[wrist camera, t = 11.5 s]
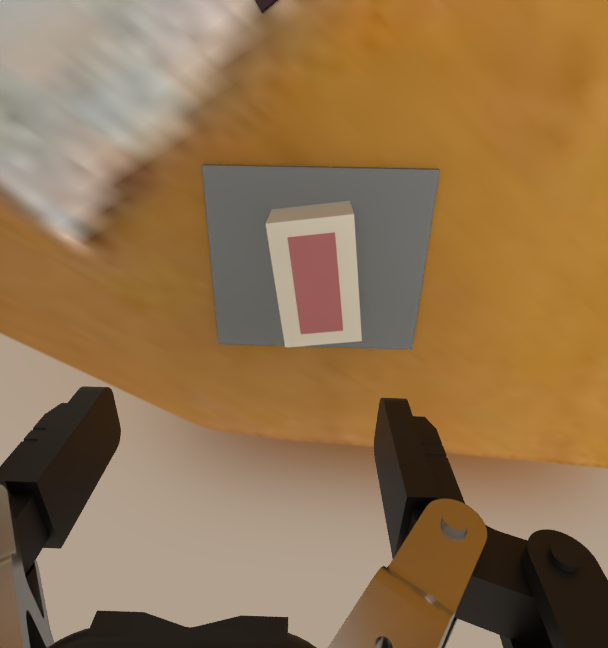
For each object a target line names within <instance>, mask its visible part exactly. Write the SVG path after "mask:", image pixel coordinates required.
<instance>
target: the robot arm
mask: <svg viewBox="0 0 608 648" xmlns="http://www.w3.org/2000/svg"><path fill="white" fill-rule="evenodd" d="M120 435H121V428H120V423H119V419H118V414H117V409H116V405H115V400H114V396H113V392H112V390H111V389H110V388H109V387H81V388H80V389H79V390H78V391H77V392H76V393H75V395H74V396H73V397H72V398H71V400H70V401H69V402H68V403H61V404H60V405H58V406H57V407H55V408H54V409H52V410H51V411H49V412H48V413H46V414H45V415H44V416H43V417H42V418H41V419H40V420H39V422H38V423H37V424H36V425H35V426H34V428H33V430H32V431H30V432H29V433H28V435H27V436H26V437H25V438H24V441H23V442H21V443H20V444H19V445H18V446H17V448H16V449H15V450H14V451H13V452H12V453H11V454H10V456H9V457H8V458H7V459H6V460H5V462H4V463H3V464H2V465H1V467H0V648H316V647H315V646H313V645H312V644H310V643H309V642H307V641H305V640H303V639H301V638H300V637H298V636H295V635H292V634H290V633H288V617H264V616H238V617H234V618H230V619H226V620H222V621H217V622H213V623H209V624H206V625H201V626H197V627H192V628H189V627H184V626H181V625H178V624H176V623H173V622H170V621H167V620H164V619H162V618H159V617H156V616H153V615H150V614H147V613H144V612H119V611H97V612H96V615H95V617H94V619H93V622H92V624H91V627H90V628H88V629H84V630H82V631H79V632H76V633H74V634H71V635H69V636H67V637H65V638H63V639H61V640H59V641H57V642H55V643H54V641H53V637H52V634H51V630H50V626H49V621H48V615H47V610H46V605H45V599H44V595H43V589H42V584H41V578H40V573H39V568H38V564H37V561H36V558H37V556H38V555H39V553H40V551H41V550H42V548H61V547H62V545H63V544H64V542H65V540H66V538H67V537H68V535H69V533H70V531H71V530H72V528H73V526H74V524H75V522H76V521H77V519H78V517H79V515H80V514H81V512H82V510H83V508H84V506H85V505H86V503H87V501H88V499H89V497H90V496H91V494H92V492H93V490H94V489H95V487H96V485H97V483H98V481H99V479H100V478H101V476H102V474H103V473H104V471H105V469H106V467H107V465H108V464H109V461H110V460H111V458H112V456H113V455H114V453H115V451H116V449H117V447H118V444H119V441H120ZM374 455H375V462H376V467H377V473H378V479H379V484H380V490H381V495H382V501H383V507H384V512H385V518H386V523H387V529H388V535H389V540H390V545H391V551H392V557H393V560H392V562H391V564H390V565H389V566H388V567H387V568H386V567H384V566H383V567H381V568H380V569H379V570H378V572H377V573H376V575H375V576H374V577H373V579H372V580H371V582H370V584H369V585H368V587H367V588H366V590H365V591H364V593H363V594H362V596H361V597H360V599H359V601H358V602H357V604H356V605H355V607H354V608H353V610H352V611H351V613H350V615H349V616H348V617H347V619H346V620H345V622H344V624H343V625H342V627H341V628H340V630H339V631H338V633H337V634H336V636H335V637H334V639H333V641H332V642H331V644H330V645H329V647H328V648H445V647H446V645H447V643H448V640H449V638H450V636H451V633H452V631H453V629H454V626H455V624H456V622H457V619H460V620H463V621H466V622H468V623H471V624H473V625H476V626H478V627H481V628H484V629H486V630H489V631H492V632H494V633H497V634H499V635H500V638H501V641H502V645H503V648H608V580H607V578H606V576H605V575H604V573H603V571H602V569H601V567H600V566H599V564H598V562H597V561H596V559H595V557H594V556H593V555H592V554H591V553H590V551H589V550H588V549H587V548H586V547H585V546H583V545H582V544H581V543H580V542H578V541H577V540H575V539H574V538H572V537H570V536H568V535H566V534H563V533H561V532H558V531H555V530H539V531H536V532H534V533H533V534H532V535H531V536H530V538H529V540H528V541H527V540H524V539H521V538H518V537H515V536H511V535H508V534H505V533H502V532H499V531H497V530H494V529H492V528H490V527H488V526H486V525H485V523H484V522H483V520H482V518H481V517H480V516H479V514H477V513H476V512H475V511H474V510H473V509H472V508H470V507H469V506H468V505H466V504H465V502H464V500H463V497H462V495H461V492H460V489H459V487H458V484H457V482H456V479H455V477H454V474H453V471H452V469H451V466H450V463H449V461H448V458H446V453H445V450H444V448H443V446H442V442H441V440H440V437H439V435H438V432H437V429H436V428H435V427H434V426H433V425H432V424H431V423H430V422H429V421H428V420H427V419H426V418H425V417H416V416H412V413H411V410H410V406H409V403H408V401H407V399H398V398H381V399H380V403H379V410H378V417H377V423H376V430H375V437H374Z"/></svg>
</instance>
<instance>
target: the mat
mask: <svg viewBox="0 0 608 648" xmlns="http://www.w3.org/2000/svg"><path fill="white" fill-rule="evenodd" d="M202 172H203V183H204V193H205V204H206V215H207V226H208V236H209V247H210V258H211V269H212V279H213V290H214V301H215V312H216V323H217V333H218V344H238V345H273V346H285V343H284V337H283V331H282V325H281V318H280V312H279V306H278V300H277V293H276V287H275V281H274V274H273V268H272V262H271V256H270V249H269V243H268V237H267V230H266V221H267V219H268V217H269V215H270V212H271V210H272V209H280V208H288V207H297V206H306V205H315V204H324V203H333V202H342V201H350V203H351V206H352V209H353V212H354V221H355V237H356V253H357V270H358V286H359V302H360V318H361V335H362V341H358V342H346V343H334V344H322V345H310V346H308V347H343V348H378V349H412V346H413V340H414V333H415V327H416V320H417V314H418V308H419V301H420V295H421V288H422V282H423V275H424V269H425V262H426V256H427V249H428V243H429V237H430V230H431V224H432V217H433V211H434V204H435V198H436V191H437V185H438V178H439V172H440V170H439V169H416V168H363V167H311V166H259V165H206V164H204V165H202Z"/></svg>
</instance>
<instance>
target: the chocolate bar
mask: <svg viewBox="0 0 608 648" xmlns="http://www.w3.org/2000/svg"><path fill="white" fill-rule="evenodd" d="M255 1H256V3H257V4H258V6H259V8H260V10H261V12H262V13H263V12H264V11H265V10H267V9H268V8H269V7H270V6H272V5H273V4H274V3H275V2H277V1H278V0H255Z"/></svg>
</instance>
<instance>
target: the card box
mask: <svg viewBox="0 0 608 648" xmlns="http://www.w3.org/2000/svg"><path fill="white" fill-rule="evenodd" d="M266 230H267V237H268V243H269V249H270V256H271V262H272V268H273V274H274V281H275V287H276V293H277V300H278V306H279V312H280V318H281V325H282V331H283V337H284V343H285V348H286V347H298V346H310V345H322V344H334V343H346V342H358V341H362V335H361V318H360V302H359V286H358V270H357V253H356V237H355V221H354V212H353V209H352V206H351V203H350V201H342V202H333V203H324V204H315V205H306V206H297V207H288V208H280V209H272V210H271V212H270V215H269V217H268V219H267V221H266Z"/></svg>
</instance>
